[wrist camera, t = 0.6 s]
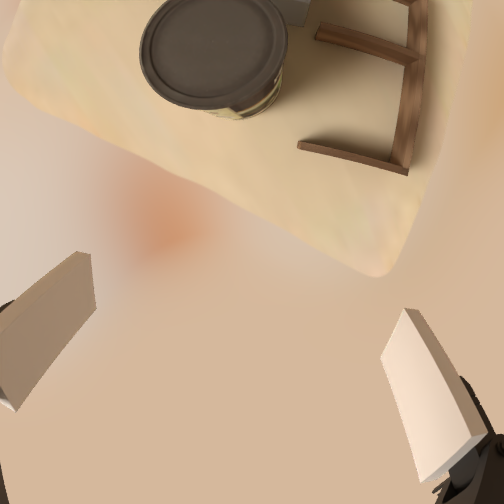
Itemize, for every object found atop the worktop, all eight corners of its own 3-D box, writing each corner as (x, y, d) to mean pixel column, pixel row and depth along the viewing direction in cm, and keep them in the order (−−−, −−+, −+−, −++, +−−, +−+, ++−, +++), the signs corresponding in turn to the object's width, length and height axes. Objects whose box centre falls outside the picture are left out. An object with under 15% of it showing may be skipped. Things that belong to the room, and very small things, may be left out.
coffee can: (274, 31, 27) (274, -29, 13) (288, 114, 30) (299, 98, 17) (185, 46, 28) (134, 2, 15) (196, 127, 31) (146, 124, 18)
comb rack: (324, -25, 23) (329, -40, 19) (414, 4, 23) (427, -6, 19) (297, 147, 32) (300, 149, 28) (393, 171, 32) (407, 176, 28)
